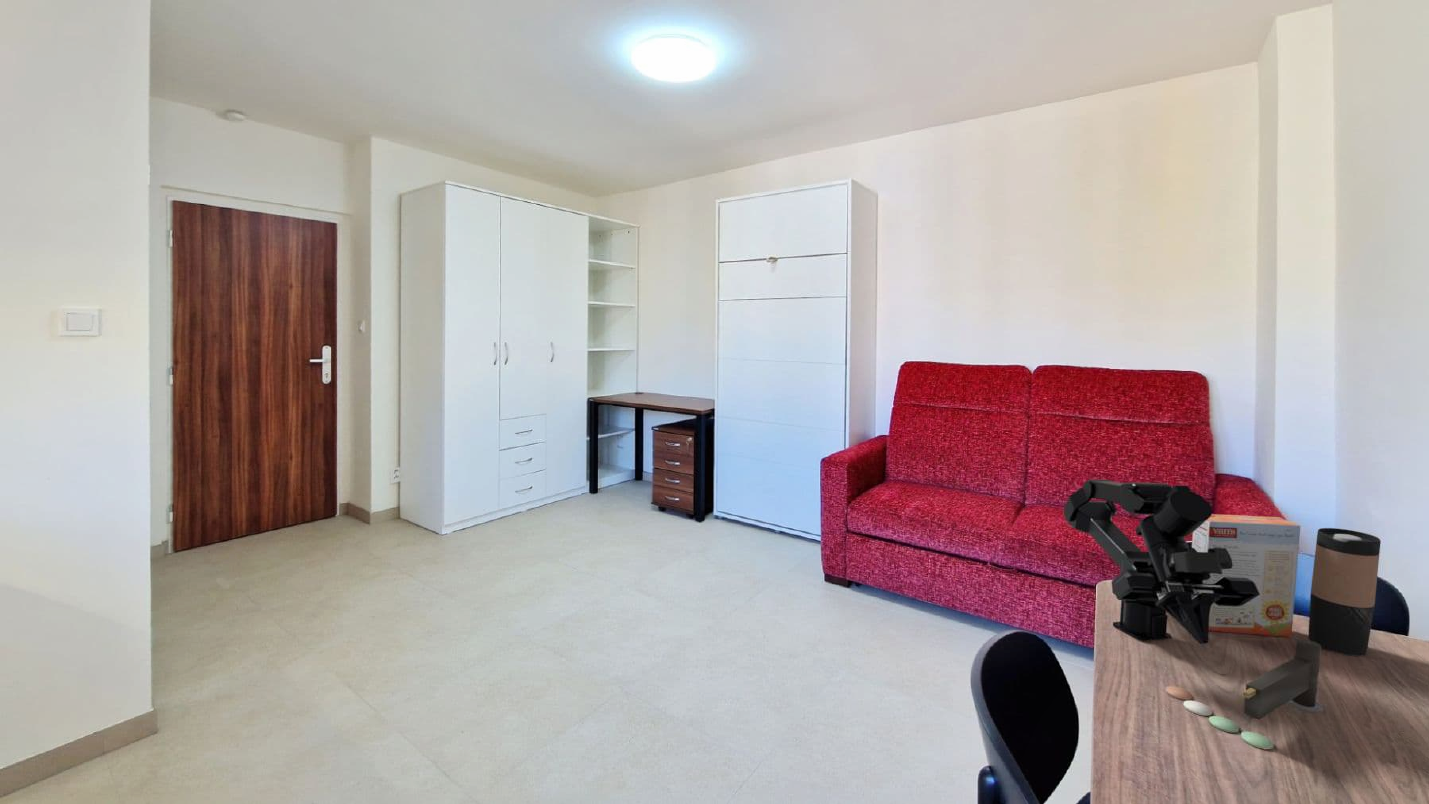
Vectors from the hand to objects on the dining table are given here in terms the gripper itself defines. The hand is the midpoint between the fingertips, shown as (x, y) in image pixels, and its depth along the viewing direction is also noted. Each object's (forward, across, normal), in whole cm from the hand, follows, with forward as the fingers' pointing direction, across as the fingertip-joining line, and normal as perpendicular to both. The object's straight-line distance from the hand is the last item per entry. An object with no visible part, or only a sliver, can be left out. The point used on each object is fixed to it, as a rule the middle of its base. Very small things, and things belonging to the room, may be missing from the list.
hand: (1204, 643), depth 92 cm
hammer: (+11, +5, -2) cm, 12 cm away
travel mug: (-6, +31, +17) cm, 36 cm away
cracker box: (-10, +19, +20) cm, 29 cm away
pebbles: (+9, +4, 0) cm, 10 cm away
